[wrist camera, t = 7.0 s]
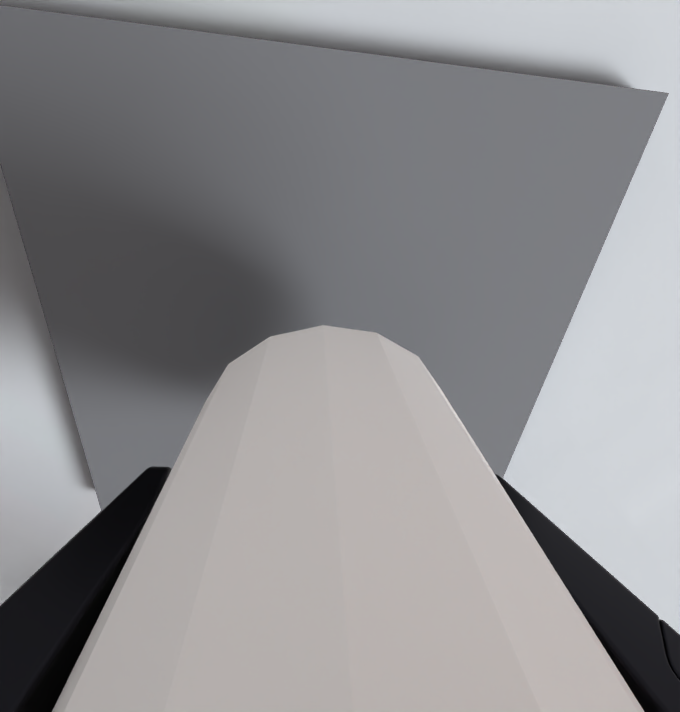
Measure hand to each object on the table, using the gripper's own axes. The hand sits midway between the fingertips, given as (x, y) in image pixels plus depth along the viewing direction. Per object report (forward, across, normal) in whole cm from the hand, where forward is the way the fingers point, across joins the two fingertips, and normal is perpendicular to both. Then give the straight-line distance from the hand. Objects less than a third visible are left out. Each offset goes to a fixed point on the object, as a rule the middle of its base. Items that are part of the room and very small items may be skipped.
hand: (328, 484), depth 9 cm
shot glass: (+2, 0, 0) cm, 2 cm away
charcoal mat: (+6, 0, 0) cm, 6 cm away
